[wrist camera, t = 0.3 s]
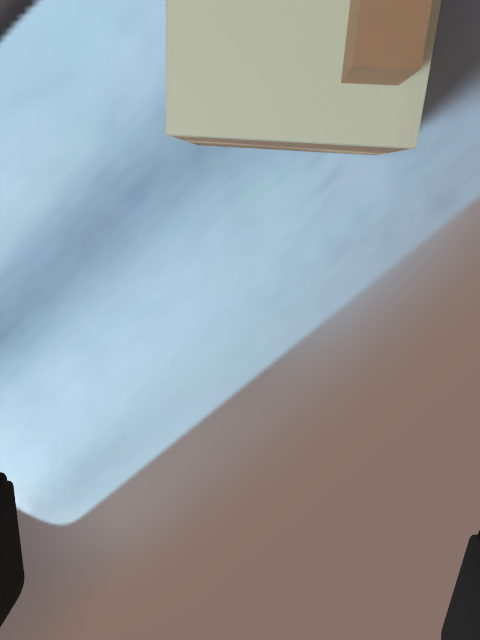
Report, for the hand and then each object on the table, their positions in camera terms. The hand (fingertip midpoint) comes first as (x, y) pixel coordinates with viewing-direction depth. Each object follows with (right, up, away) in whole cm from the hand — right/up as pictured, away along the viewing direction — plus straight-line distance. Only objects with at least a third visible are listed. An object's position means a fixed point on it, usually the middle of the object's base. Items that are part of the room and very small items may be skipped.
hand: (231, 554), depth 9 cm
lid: (+3, +23, +14) cm, 27 cm away
